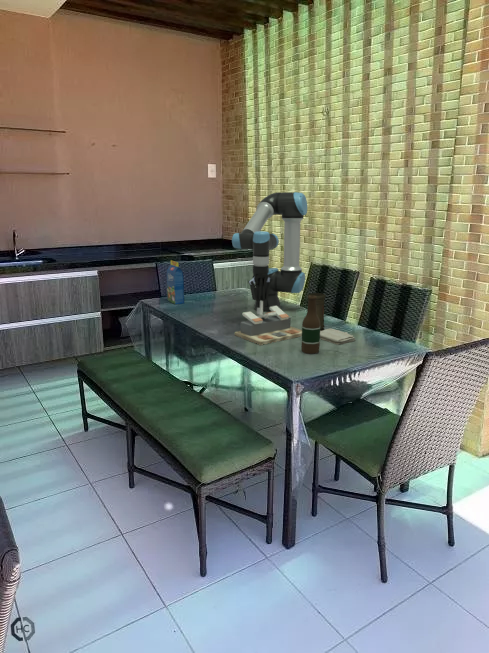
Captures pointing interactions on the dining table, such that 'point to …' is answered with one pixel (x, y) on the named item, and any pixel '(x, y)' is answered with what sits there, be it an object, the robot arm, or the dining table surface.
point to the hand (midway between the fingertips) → (259, 313)
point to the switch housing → (264, 326)
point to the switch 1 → (252, 317)
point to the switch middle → (267, 315)
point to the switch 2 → (279, 313)
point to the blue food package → (175, 284)
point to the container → (320, 308)
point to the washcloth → (336, 336)
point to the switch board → (272, 336)
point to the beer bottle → (311, 328)
